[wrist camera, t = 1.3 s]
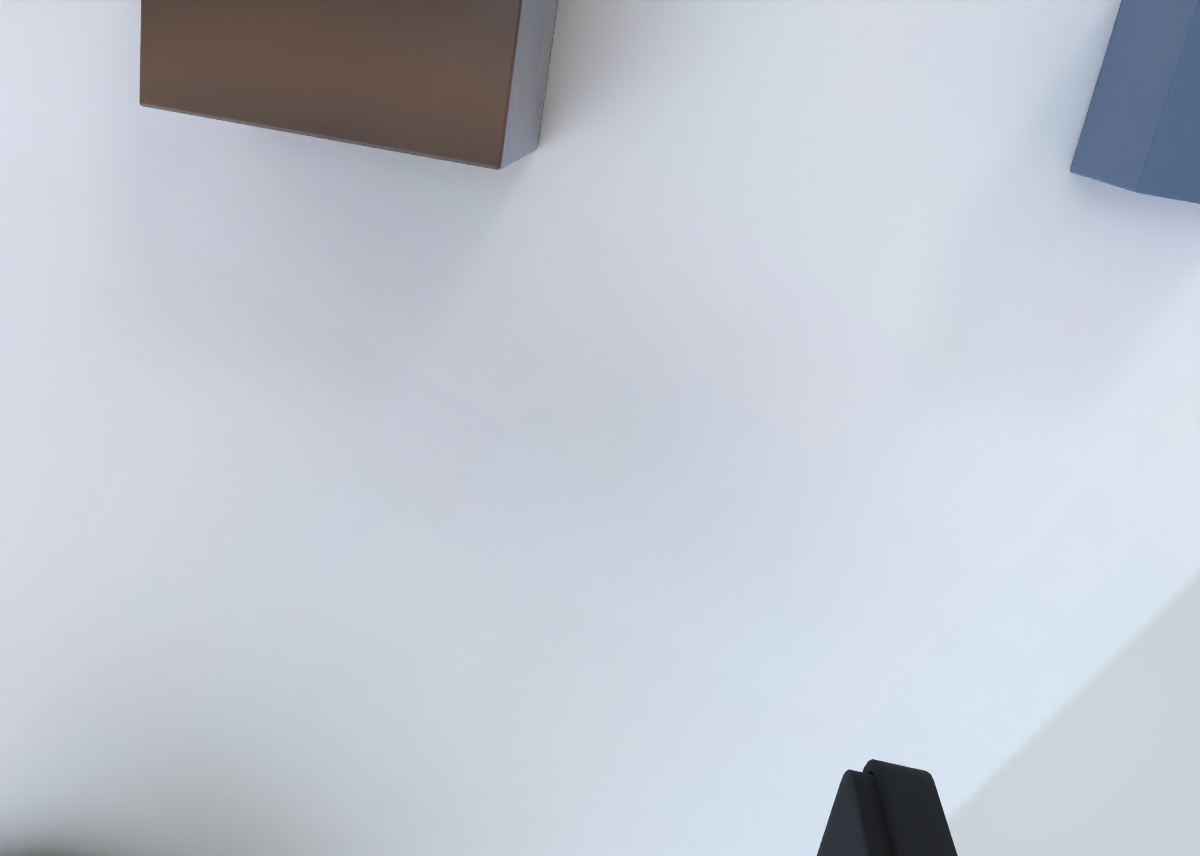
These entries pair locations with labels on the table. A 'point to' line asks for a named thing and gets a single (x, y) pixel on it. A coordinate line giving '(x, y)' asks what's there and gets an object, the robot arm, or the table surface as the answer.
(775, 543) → the table surface
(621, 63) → the table surface
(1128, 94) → the blue cube
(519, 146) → the walnut base
